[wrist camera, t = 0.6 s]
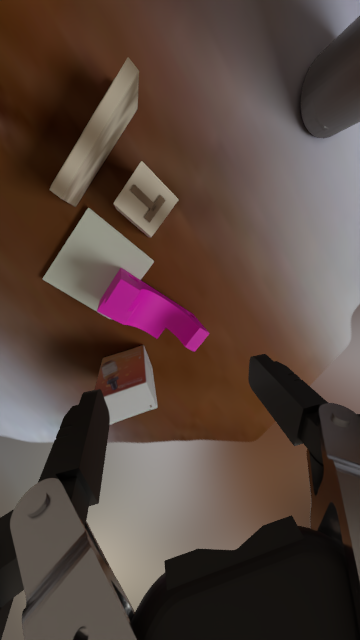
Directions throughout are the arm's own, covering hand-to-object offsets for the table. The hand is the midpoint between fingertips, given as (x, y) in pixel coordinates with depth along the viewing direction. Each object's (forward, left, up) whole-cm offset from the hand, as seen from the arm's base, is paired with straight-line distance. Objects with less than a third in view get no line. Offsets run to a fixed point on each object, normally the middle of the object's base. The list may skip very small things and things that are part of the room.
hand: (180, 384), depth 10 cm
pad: (+2, -7, -24) cm, 25 cm away
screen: (-10, -15, -24) cm, 30 cm away
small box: (+14, +6, -25) cm, 29 cm away
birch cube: (-9, -7, -25) cm, 27 cm away
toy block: (+3, +3, -24) cm, 24 cm away
